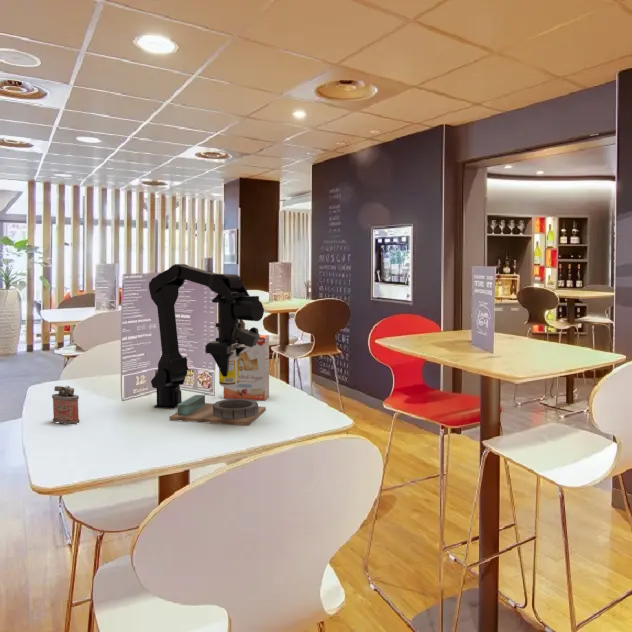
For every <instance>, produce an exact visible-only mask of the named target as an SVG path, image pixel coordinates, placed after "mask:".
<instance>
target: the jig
mask: <svg viewBox="0 0 632 632" xmlns="http://www.w3.org/2000/svg"><path fill="white" fill-rule="evenodd" d="M266 408H267V407H266V406H259V403H258V402H257V400H250V399H229V398H226V399H223V400H222V399H221V400H218V401H216V402H214V403H207V402H206V395H205V394H194V395H193V396H190V397H189V398H187V399H185V400H184V401H183V400H182V402H181V403H180V404H178V406H177V412H175V413H173V414H172V415H170V416H169V421H174V420H182V421H181V422H188V421H197V422H196V423H203V422H210V423H209V424H218V423H221V425H234V426H250V424H252V423H253V422H254V421H255V420H257V418H259V417H260V416H261V415H262V414H263V413H264V412H265V411H266V410H267V409H266Z"/></svg>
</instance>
